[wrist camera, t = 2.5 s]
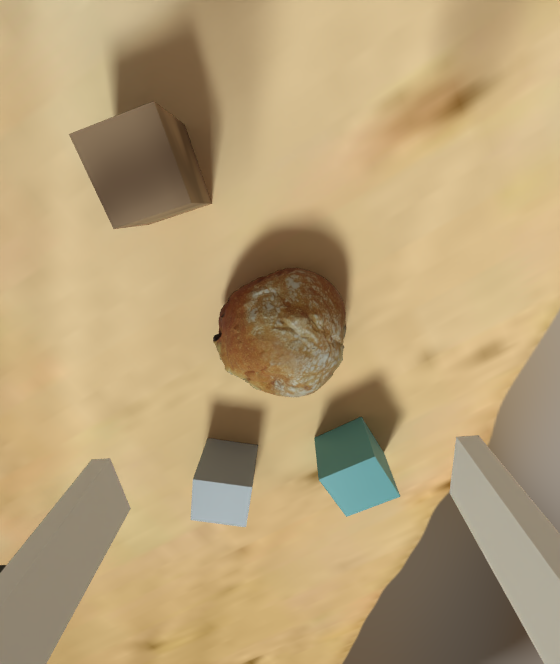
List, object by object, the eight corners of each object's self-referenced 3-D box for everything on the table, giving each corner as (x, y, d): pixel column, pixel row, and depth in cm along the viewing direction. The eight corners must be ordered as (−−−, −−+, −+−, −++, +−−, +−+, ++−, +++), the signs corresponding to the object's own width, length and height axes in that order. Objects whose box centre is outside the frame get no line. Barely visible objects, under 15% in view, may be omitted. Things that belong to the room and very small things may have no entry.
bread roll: (323, 355, 30) (377, 392, 23) (223, 390, 27) (251, 446, 20) (311, 254, 27) (371, 263, 20) (194, 282, 23) (216, 303, 16)
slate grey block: (207, 437, 30) (192, 479, 26) (258, 444, 30) (252, 487, 26) (205, 474, 32) (190, 519, 28) (252, 481, 32) (245, 527, 28)
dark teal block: (314, 437, 30) (318, 479, 25) (361, 416, 29) (374, 456, 24) (338, 470, 31) (346, 516, 27) (383, 452, 30) (400, 496, 26)
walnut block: (117, 150, 21) (69, 134, 16) (184, 125, 20) (153, 101, 16) (149, 224, 23) (113, 229, 18) (212, 203, 22) (191, 203, 17)
